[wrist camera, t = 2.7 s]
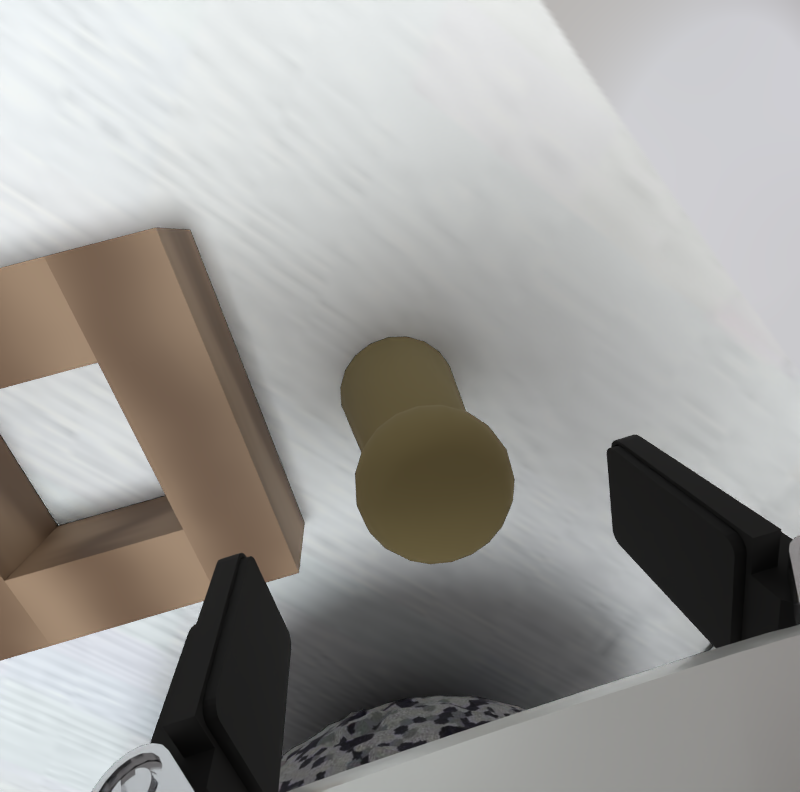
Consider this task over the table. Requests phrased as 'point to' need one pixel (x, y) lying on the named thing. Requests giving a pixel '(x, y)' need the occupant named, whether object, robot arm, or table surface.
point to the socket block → (156, 433)
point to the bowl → (385, 734)
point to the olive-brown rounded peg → (422, 455)
